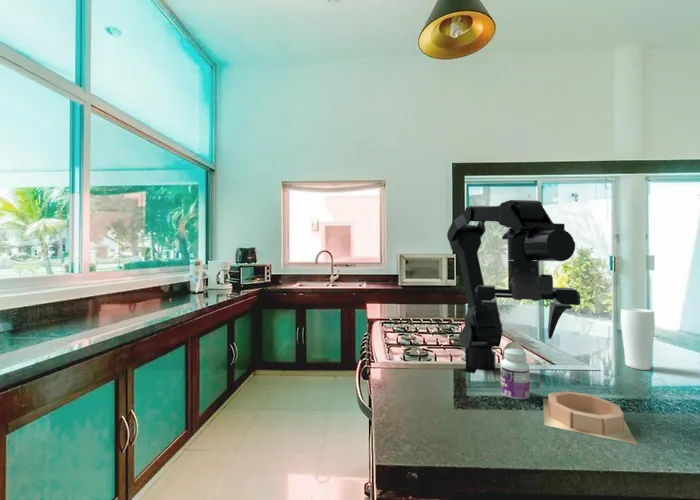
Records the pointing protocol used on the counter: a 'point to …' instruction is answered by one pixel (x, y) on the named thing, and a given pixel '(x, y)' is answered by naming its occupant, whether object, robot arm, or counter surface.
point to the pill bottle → (515, 374)
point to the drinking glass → (638, 337)
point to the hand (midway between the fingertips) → (523, 336)
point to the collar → (603, 423)
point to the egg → (513, 346)
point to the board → (551, 422)
